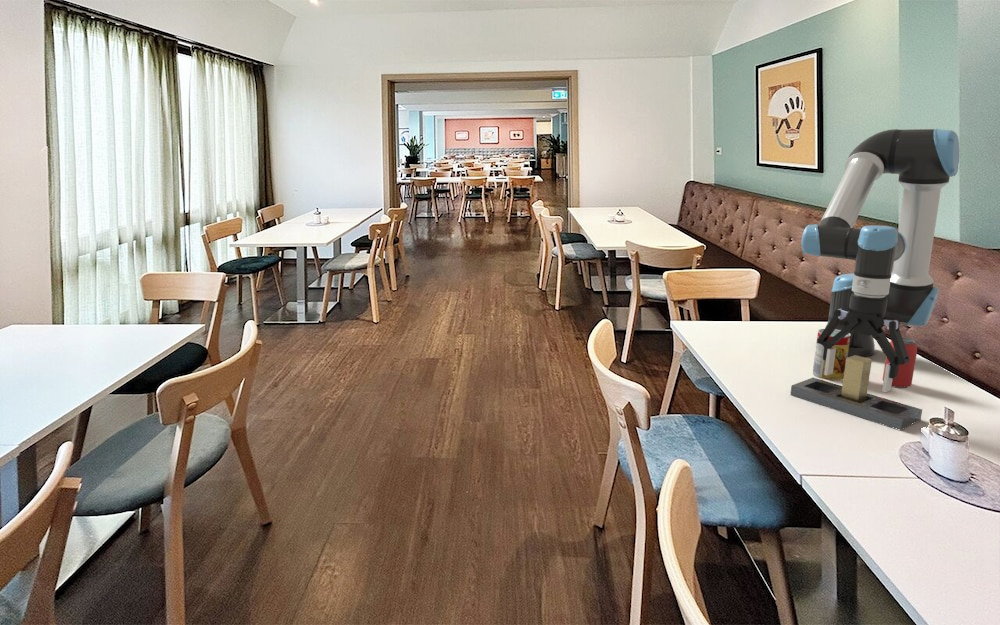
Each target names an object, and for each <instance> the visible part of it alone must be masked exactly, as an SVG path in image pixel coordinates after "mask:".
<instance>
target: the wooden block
mask: <svg viewBox="0 0 1000 625" xmlns="http://www.w3.org/2000/svg"><path fill="white" fill-rule="evenodd" d="M872 362H873V359H871V358H868V357H860V356H856V355H854V356H848V357H847V358H846V364H845V371H844V378H843V379H842V385H841V386H842V393H841V398H844V399H847V400H850V401H854V402H857V403H860V404H861V403H863V402H865V401H866V396H867V393H868V389H869V380H870V374H871V369H872Z"/></svg>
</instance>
